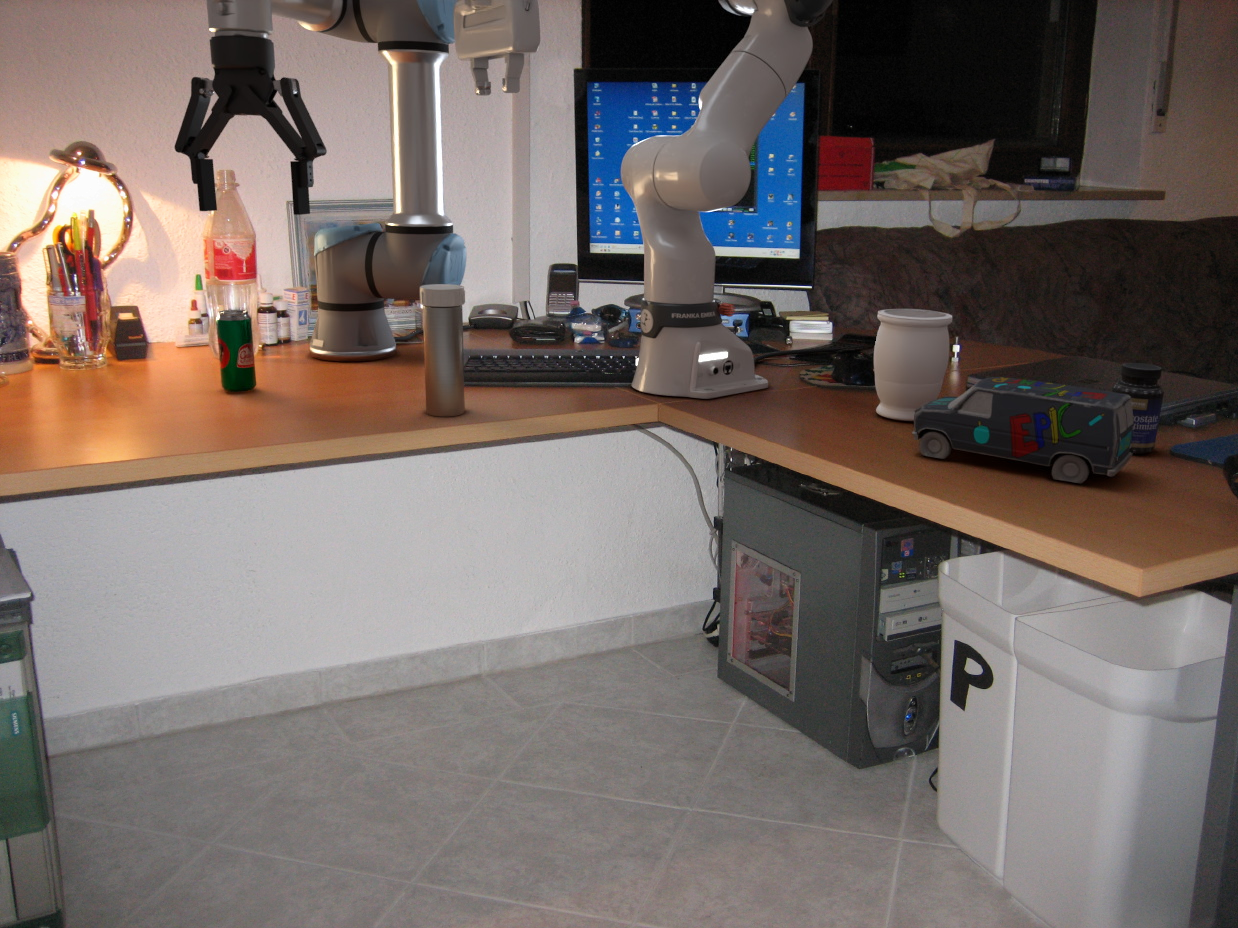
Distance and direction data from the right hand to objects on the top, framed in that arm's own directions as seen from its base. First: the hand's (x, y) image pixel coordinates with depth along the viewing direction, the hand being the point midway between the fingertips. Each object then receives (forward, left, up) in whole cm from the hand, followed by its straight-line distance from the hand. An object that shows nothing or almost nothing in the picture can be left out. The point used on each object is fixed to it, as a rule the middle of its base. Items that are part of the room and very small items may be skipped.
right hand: (496, 94), depth 141 cm
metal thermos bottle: (+7, -4, -43) cm, 44 cm away
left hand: (+30, -9, -15) cm, 35 cm away
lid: (+7, -4, -26) cm, 27 cm away
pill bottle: (-67, +53, -43) cm, 96 cm away
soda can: (+30, -31, -43) cm, 61 cm away
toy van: (-48, +51, -43) cm, 82 cm away
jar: (-53, +26, -43) cm, 73 cm away
